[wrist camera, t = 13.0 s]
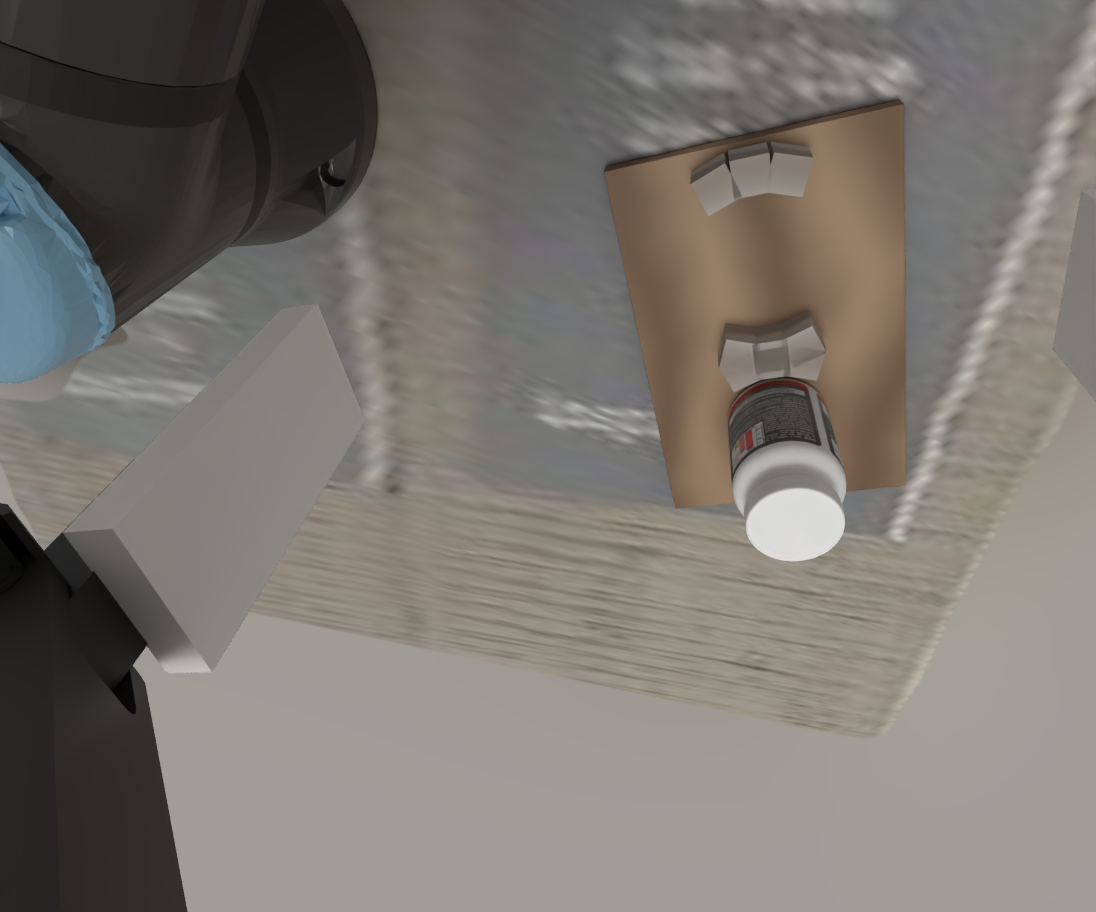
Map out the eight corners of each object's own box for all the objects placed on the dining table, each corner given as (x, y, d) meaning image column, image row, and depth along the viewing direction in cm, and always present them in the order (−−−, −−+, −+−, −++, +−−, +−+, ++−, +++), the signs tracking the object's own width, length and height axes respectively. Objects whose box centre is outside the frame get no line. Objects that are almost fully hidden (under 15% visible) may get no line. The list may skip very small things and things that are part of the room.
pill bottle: (708, 429, 46) (710, 537, 38) (765, 357, 43) (779, 459, 35) (787, 470, 47) (806, 584, 39) (849, 403, 44) (882, 513, 36)
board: (675, 499, 51) (674, 528, 49) (606, 166, 39) (600, 183, 37) (902, 475, 47) (913, 505, 45) (899, 99, 35) (914, 113, 33)
